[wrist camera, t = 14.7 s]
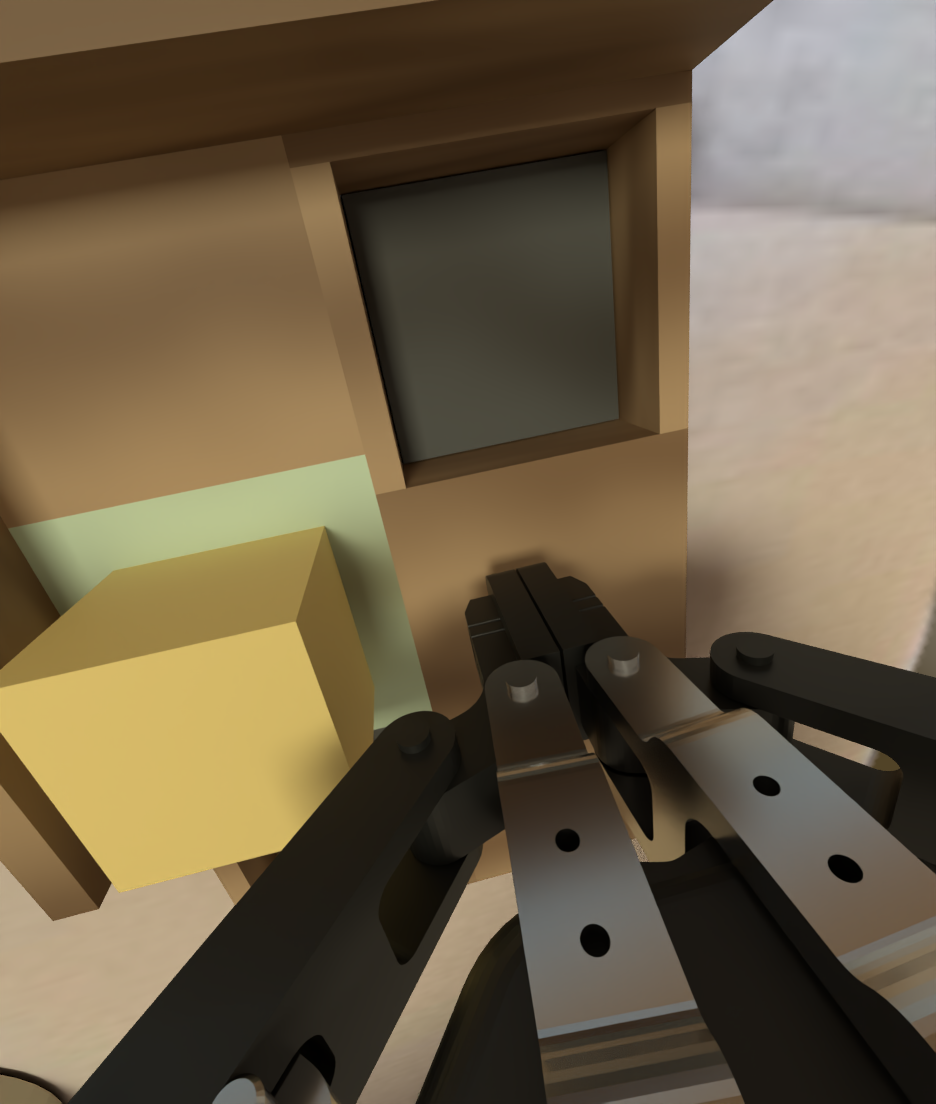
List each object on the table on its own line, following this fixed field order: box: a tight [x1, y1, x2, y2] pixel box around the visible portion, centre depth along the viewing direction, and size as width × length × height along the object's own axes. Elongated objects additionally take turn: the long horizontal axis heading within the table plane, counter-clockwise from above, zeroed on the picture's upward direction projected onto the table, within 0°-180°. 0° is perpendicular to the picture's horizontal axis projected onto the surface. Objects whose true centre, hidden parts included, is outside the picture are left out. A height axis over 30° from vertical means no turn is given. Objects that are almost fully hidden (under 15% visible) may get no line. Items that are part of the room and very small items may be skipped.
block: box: [0, 526, 375, 893], centre depth 11 cm, size 5×5×4 cm
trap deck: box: [0, 0, 773, 921], centre depth 13 cm, size 23×17×6 cm
